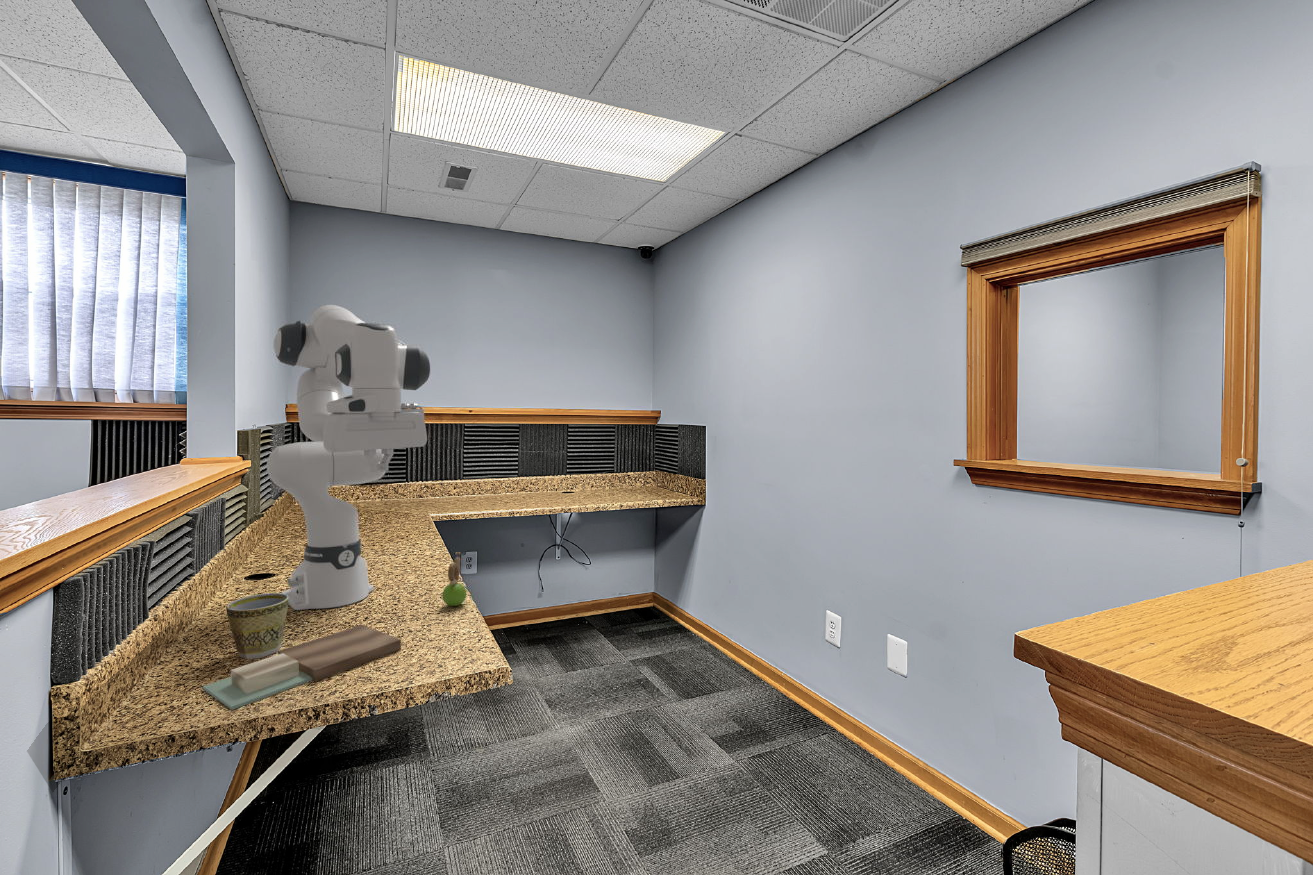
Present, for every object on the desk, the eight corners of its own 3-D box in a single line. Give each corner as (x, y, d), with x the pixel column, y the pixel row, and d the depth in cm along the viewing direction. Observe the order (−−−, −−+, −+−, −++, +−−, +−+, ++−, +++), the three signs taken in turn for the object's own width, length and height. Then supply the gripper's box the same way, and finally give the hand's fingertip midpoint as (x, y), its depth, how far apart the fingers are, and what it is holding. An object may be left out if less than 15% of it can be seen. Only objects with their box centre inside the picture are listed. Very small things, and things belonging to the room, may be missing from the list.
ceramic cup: (281, 659, 111) (278, 607, 110) (219, 666, 108) (216, 612, 107) (301, 633, 123) (299, 586, 122) (246, 639, 120) (244, 591, 120)
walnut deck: (278, 661, 109) (277, 651, 109) (362, 633, 123) (362, 624, 122) (315, 681, 101) (314, 670, 101) (401, 649, 115) (400, 639, 114)
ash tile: (231, 684, 100) (231, 669, 100) (283, 666, 106) (282, 653, 106) (246, 693, 96) (246, 679, 96) (299, 675, 103) (298, 661, 103)
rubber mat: (202, 689, 99) (202, 686, 99) (280, 663, 109) (280, 660, 109) (231, 709, 92) (231, 706, 92) (312, 680, 102) (312, 677, 102)
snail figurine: (470, 600, 143) (469, 551, 143) (462, 609, 137) (461, 558, 136) (448, 600, 143) (446, 552, 142) (439, 609, 137) (437, 559, 136)
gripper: (414, 403, 129) (416, 466, 130) (317, 403, 112) (320, 475, 113) (432, 403, 125) (434, 467, 126) (334, 403, 108) (337, 478, 109)
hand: (379, 471), depth 119 cm, fingers closed
